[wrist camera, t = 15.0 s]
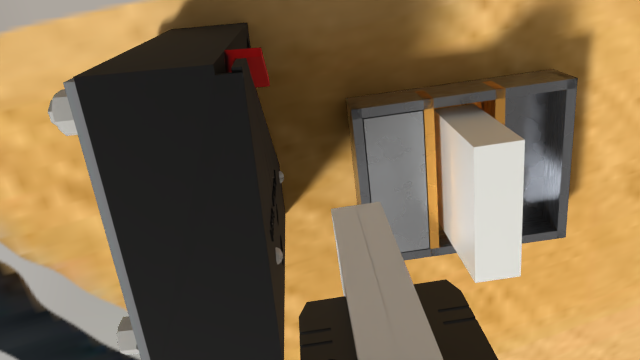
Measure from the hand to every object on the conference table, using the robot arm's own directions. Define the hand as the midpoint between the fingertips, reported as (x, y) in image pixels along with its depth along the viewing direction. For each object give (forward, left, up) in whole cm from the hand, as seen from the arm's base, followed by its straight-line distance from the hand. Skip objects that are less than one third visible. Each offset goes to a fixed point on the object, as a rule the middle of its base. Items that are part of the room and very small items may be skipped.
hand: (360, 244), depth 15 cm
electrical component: (+4, -8, -29) cm, 31 cm away
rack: (+10, +12, -29) cm, 33 cm away
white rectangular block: (+10, +12, -28) cm, 32 cm away
